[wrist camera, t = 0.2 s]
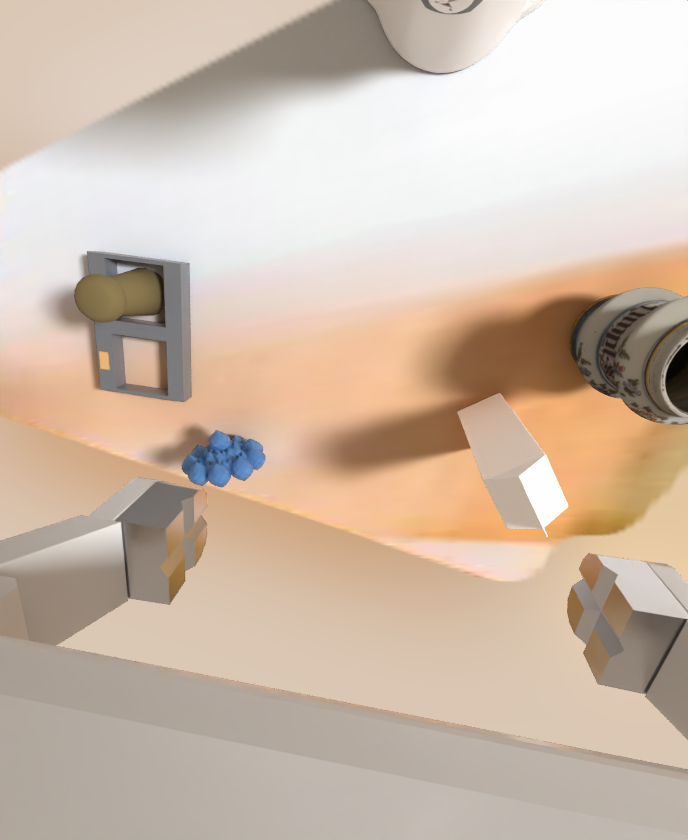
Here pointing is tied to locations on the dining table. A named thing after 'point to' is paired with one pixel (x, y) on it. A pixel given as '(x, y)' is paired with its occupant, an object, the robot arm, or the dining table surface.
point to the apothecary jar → (637, 351)
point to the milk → (512, 465)
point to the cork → (120, 295)
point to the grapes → (223, 460)
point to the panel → (147, 331)
